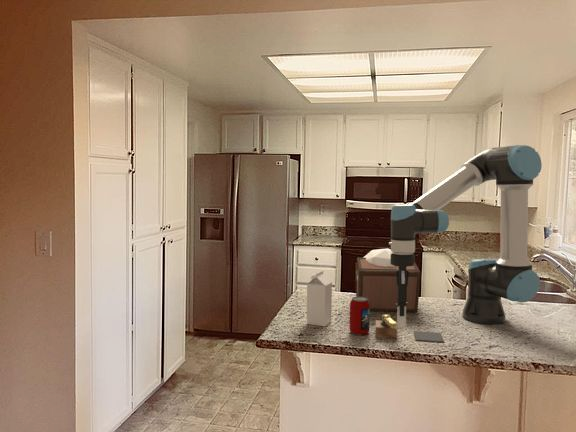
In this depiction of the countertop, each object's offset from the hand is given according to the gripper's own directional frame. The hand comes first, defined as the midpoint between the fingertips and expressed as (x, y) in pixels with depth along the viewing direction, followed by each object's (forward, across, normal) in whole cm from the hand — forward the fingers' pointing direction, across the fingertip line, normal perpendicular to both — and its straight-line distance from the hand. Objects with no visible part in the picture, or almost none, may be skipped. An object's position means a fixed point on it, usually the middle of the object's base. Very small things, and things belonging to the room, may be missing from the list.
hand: (401, 325), depth 150 cm
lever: (+1, -4, -4) cm, 6 cm away
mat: (+6, -7, +9) cm, 13 cm away
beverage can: (+6, -7, -14) cm, 17 cm away
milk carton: (+6, -15, -29) cm, 33 cm away
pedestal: (+6, -7, -5) cm, 11 cm away
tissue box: (+6, -47, -5) cm, 48 cm away
